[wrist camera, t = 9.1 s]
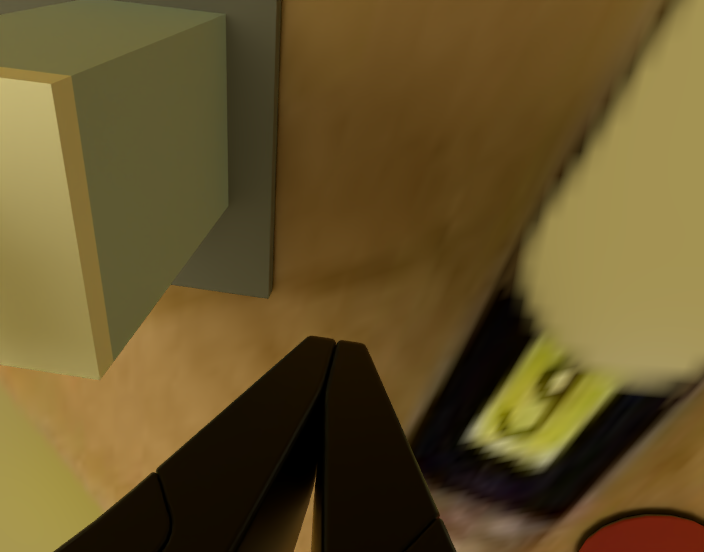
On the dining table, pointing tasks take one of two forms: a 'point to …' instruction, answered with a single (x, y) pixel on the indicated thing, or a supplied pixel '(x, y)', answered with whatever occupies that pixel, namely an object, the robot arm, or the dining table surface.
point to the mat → (236, 147)
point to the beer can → (647, 535)
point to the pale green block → (103, 171)
